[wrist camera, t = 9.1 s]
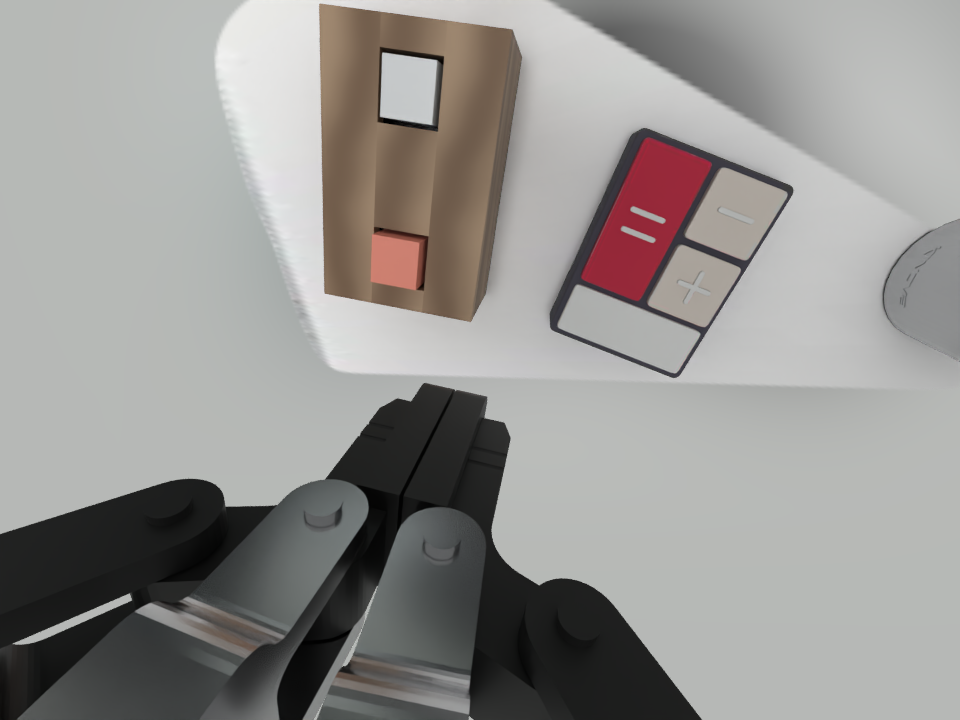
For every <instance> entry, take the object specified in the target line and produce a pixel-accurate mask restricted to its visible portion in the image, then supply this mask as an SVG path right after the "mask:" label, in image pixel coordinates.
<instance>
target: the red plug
mask: <svg viewBox="0 0 960 720" xmlns="http://www.w3.org/2000/svg"><path fill="white" fill-rule="evenodd" d="M428 238H429V236H424V235H419V234H413V233H407V232H402V231H396V230H391V229H384V230H381V231H379V232H376V233H374V234H372V252H371V282H375V283H380V284H385V285H390V286H396V287H401V288H406V289H412V290H417V289H418V288H419V287H420V286H421V285H422V284H423V283H424V282H425V272H426V261H427V249H428Z"/></svg>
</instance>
